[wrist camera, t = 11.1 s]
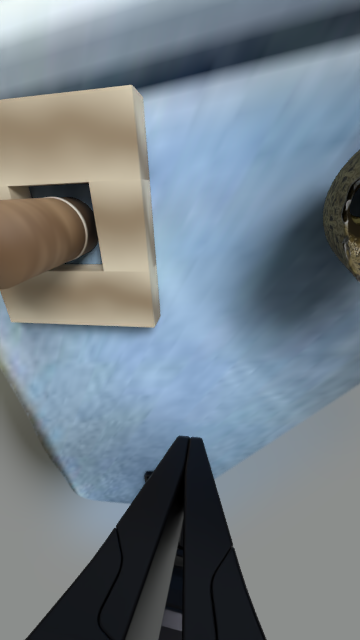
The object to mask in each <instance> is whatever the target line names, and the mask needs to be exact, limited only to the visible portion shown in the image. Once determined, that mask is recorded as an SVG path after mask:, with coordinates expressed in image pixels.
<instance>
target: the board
mask: <svg viewBox="0 0 360 640" xmlns="http://www.w3.org/2000/svg"><path fill="white" fill-rule="evenodd" d="M88 183H89V187H90V193H91V199H92V205H93V211H94V216H95V222H96V228H97V234H98V240H99V246H100V252H101V257H102V263H103V264H62V265H60V266H57V267H55V268H53V269H51V270H49V271H46V272H44V273H42V274H40V275H38V276H35V277H33V278H31V279H29V280H27V281H24V282H22V283H20V284H18V285H16V286H13V287H11V288H9V289H3V290H0V291H1V294H2V297H3V300H4V302H5V305H6V308H7V311H8V314H9V316H10V319H11V322H21V323H48V324H75V325H101V326H128V327H155V326H156V324H157V322H158V320H159V318H160V304H159V292H158V279H157V267H156V254H155V242H154V230H153V217H152V205H151V192H150V180H149V168H148V155H147V143H146V130H145V118H144V105H143V97H142V96H141V95H140V93H139V92H138V91H137V90H136V89H135V88H134V87H133V86H132V85H127V86H118V87H110V88H101V89H92V90H83V91H74V92H65V93H56V94H48V95H39V96H30V97H21V98H12V99H3V100H0V200H9V199H32V197H31V194H30V190H29V187H31V186H50V185H69V184H88Z"/></svg>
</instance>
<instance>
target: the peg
mask: <svg viewBox="0 0 360 640" xmlns="http://www.w3.org/2000/svg"><path fill="white" fill-rule="evenodd" d="M97 242H98V234H97V228H96V222H95V216H94V212H93V211H92V209H91V208H90V207H89V206H88V205H87V204H86V203H84V202H83V201H81V200H79V199H77V198H73V197H45V198H32V199H9V200H0V290H3V289H9V288H11V287H13V286H16V285H18V284H20V283H22V282H24V281H27V280H29V279H31V278H33V277H35V276H38V275H40V274H42V273H44V272H46V271H49V270H51V269H53V268H55V267H57V266H60V265H62V264H64V263H66V262H69V261H72V260H75V259H77V258H78V257H80V256H82V255H84V254H86V253H88V252H90V251H91V250H93V249H94V247H95V246H96V244H97Z"/></svg>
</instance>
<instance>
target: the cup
mask: <svg viewBox="0 0 360 640" xmlns="http://www.w3.org/2000/svg"><path fill="white" fill-rule="evenodd" d="M359 188H360V150H359V151H358V152H357V153H356V154H354V155H353V156H352V157H351V158H350V160H349V161H348V162H347V163H346V164H345V165H344V167H343V168H342V169H341V170H340V172H339V173H338V175H337V176H336V178H335V179H334V181H333V183H332V185H331V187H330V189H329V191H328V194H327V197H326V200H325V204H324V210H323V226H324V231H325V235H326V238H327V241H328V243H329V245H330V247H331V248H332V250H333V252H334V253H335V254H336V256H337V257H338V258H339V260H340V261H341V262H342V263H343V264H344V265H345V267H346V268H347V269H348V270H349V271H350V272H351V273H352V274H353V275H354V276H355V277H356V279H357V280H358V281H359V282H360V216H353V215H352V214H350V204H351V201H352V198H353V196H354V194H355V193H356V191H357V190H358V189H359Z"/></svg>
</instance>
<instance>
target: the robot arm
mask: <svg viewBox="0 0 360 640" xmlns="http://www.w3.org/2000/svg"><path fill="white" fill-rule="evenodd" d="M25 640H266V637H265V635H264V632H263V630H262V628H261V625H260V622H259V620H258V617H257V615H256V612H255V609H254V607H253V604H252V601H251V599H250V596H249V593H248V590H247V588H246V585H245V581H244V578H243V575H242V572H241V569H240V566H239V563H238V559H237V556H236V553H235V549H234V548H233V543H232V539H231V536H230V533H229V529H228V525H227V522H226V519H225V515H224V512H223V508H222V505H221V501H220V498H219V495H218V492H217V488H216V484H215V481H214V477H213V474H212V471H211V467H210V464H209V460H208V457H207V454H206V450H205V447H204V443H203V440H202V438H198V437H191V438H190V437H188V436H178V437H177V438H176V440H175V441H174V443H173V444H172V446H171V447H170V448H169V450H168V451H167V453H166V454H165V456H164V457H163V459H162V460H161V461H160V463H159V464H158V466H157V467H156V469H155V470H154V472H146V473H145V485H144V486H143V487H142V489H141V490H140V492H139V493H138V495H137V496H136V498H135V499H134V500H133V502H132V503H131V505H130V506H129V508H128V509H127V511H126V512H125V514H124V515H123V516H122V518H121V519H120V521H119V522H118V524H117V525H116V528H114V529H113V531H112V532H111V534H110V535H109V537H108V538H107V539H106V541H105V542H104V544H103V545H102V546H101V548H100V549H99V550H98V552H97V553H96V555H95V556H94V557H93V559H92V560H91V561H90V563H89V564H88V565H87V566H86V567H85V569H84V570H83V571H82V572H81V574H80V575H79V576H78V577H77V579H76V580H75V581H74V582H73V583H72V585H71V586H70V587H69V588H68V590H67V591H66V592H65V593H64V594H63V595H62V597H61V598H60V599H59V600H58V601H57V603H56V604H55V605H54V606H53V607H52V608H51V610H50V611H49V612H48V613H47V614H46V616H45V617H44V618H43V619H42V620H41V622H40V623H39V624H38V625H37V627H36V628H35V629H34V630H33V631H32V632H31V633H30V635H29V636H28V637H27V638H26V639H25Z"/></svg>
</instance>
